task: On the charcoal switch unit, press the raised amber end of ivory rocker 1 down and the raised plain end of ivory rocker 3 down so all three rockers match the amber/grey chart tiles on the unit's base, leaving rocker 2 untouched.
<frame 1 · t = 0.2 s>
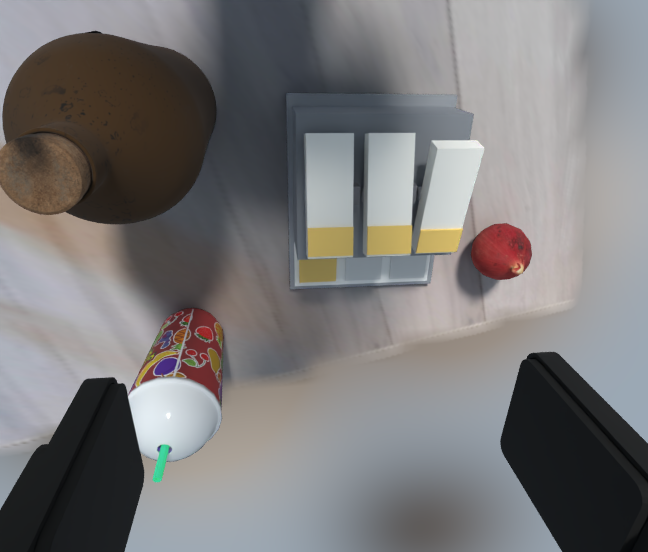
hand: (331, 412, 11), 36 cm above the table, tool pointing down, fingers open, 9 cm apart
rocker 1: (328, 196, 37), point 8 cm above the table, hinge at -12.0°
switch unit: (365, 197, 46), on the table
smoothie: (194, 327, 51), on the table
rocker 3: (442, 198, 38), point 8 cm above the table, hinge at 12.0°
olive oil: (163, 103, 40), on the table
onion: (484, 237, 50), on the table
rocker 2: (386, 195, 38), point 8 cm above the table, hinge at -12.0°
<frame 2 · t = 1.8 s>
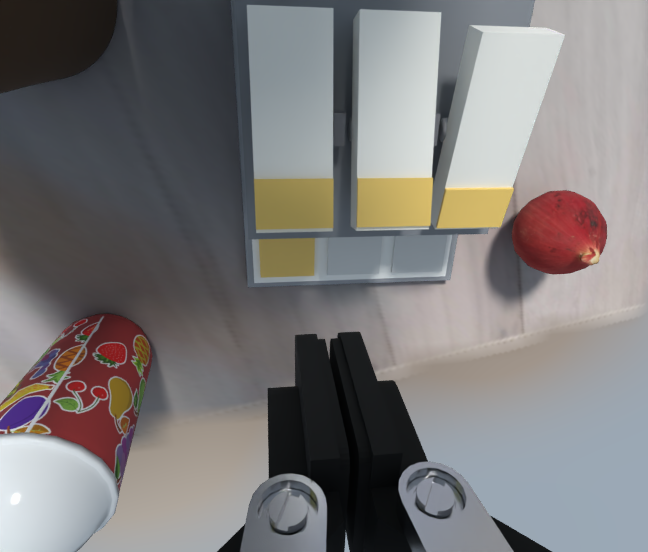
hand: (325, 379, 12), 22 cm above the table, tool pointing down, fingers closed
rocker 1: (291, 127, 22), point 8 cm above the table, hinge at -12.0°
switch unit: (357, 150, 31), on the table
smoothie: (112, 341, 35), on the table
rocker 3: (482, 135, 23), point 8 cm above the table, hinge at 12.0°
onion: (527, 214, 35), on the table
rocker 2: (390, 128, 23), point 8 cm above the table, hinge at -12.0°
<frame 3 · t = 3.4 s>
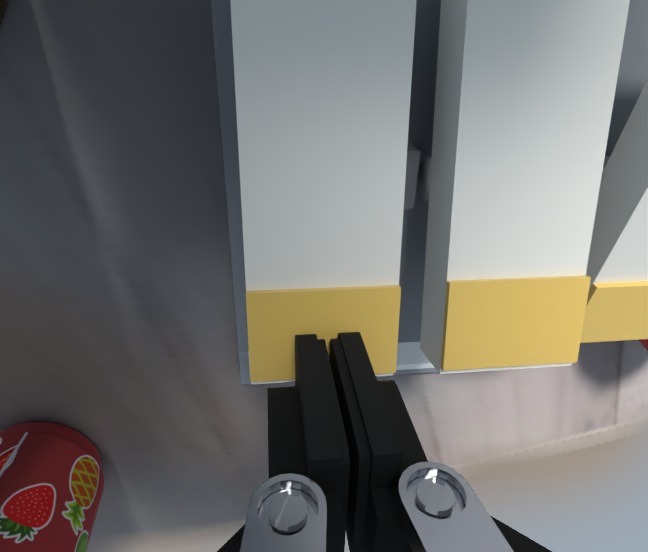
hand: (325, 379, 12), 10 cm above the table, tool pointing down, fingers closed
rocker 1: (318, 183, 11), point 8 cm above the table, hinge at -8.9°, touching gripper
switch unit: (406, 190, 20), on the table
smoothie: (48, 454, 25), on the table
rocker 2: (503, 179, 12), point 8 cm above the table, hinge at -12.0°
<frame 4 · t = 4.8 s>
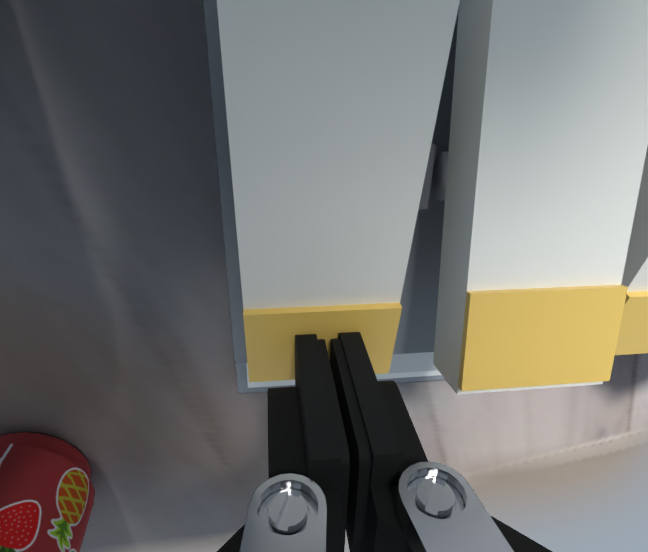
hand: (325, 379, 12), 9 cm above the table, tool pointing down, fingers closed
rocker 1: (321, 192, 10), point 8 cm above the table, hinge at 9.7°, touching gripper
switch unit: (414, 188, 19), on the table
smoothie: (36, 465, 24), on the table
rocker 2: (529, 177, 11), point 8 cm above the table, hinge at -12.0°
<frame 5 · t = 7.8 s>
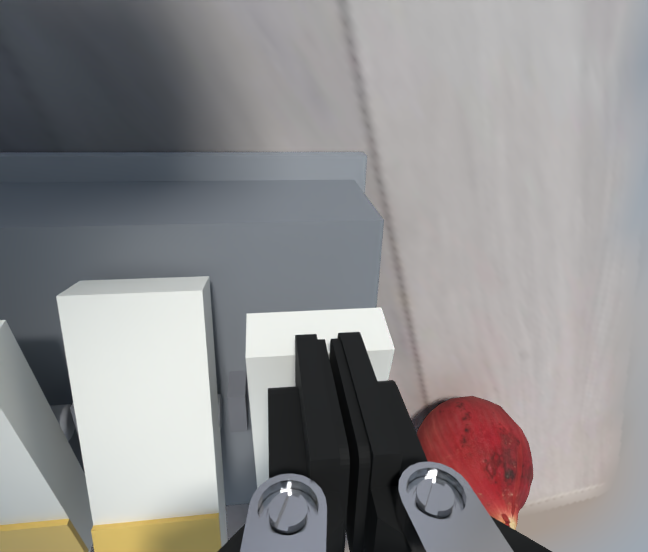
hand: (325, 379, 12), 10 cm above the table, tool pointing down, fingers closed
switch unit: (197, 351, 23), on the table
rocker 3: (311, 425, 15), point 8 cm above the table, hinge at 12.0°, touching gripper
onion: (444, 403, 27), on the table
rocker 2: (158, 429, 14), point 8 cm above the table, hinge at -12.0°
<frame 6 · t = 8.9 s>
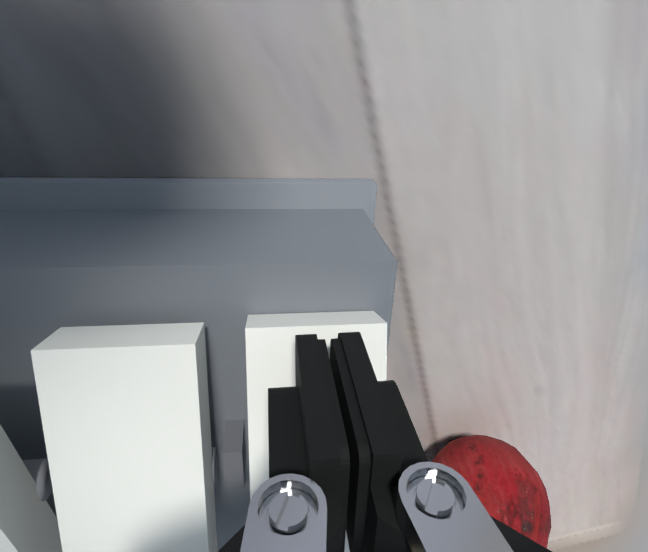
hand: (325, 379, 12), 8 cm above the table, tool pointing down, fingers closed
switch unit: (193, 385, 21), on the table
rocker 3: (314, 474, 14), point 8 cm above the table, hinge at -17.8°, touching gripper
onion: (453, 439, 25), on the table
rocker 2: (145, 489, 13), point 8 cm above the table, hinge at -12.0°
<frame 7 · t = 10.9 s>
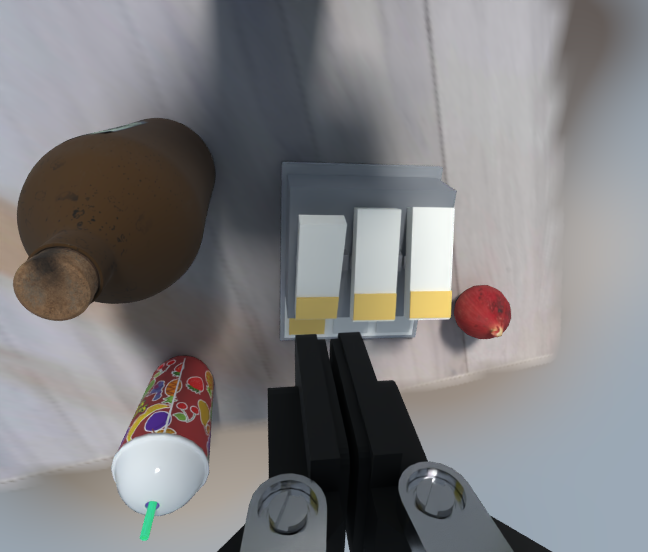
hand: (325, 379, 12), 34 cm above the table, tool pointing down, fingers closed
rocker 1: (318, 267, 39), point 8 cm above the table, hinge at 10.2°
switch unit: (354, 257, 48), on the table
smoothie: (185, 373, 52), on the table
rocker 3: (426, 263, 41), point 8 cm above the table, hinge at -18.5°, touching switch unit
olive oil: (165, 168, 42), on the table
onion: (467, 295, 52), on the table
rocker 2: (373, 264, 40), point 8 cm above the table, hinge at -12.0°
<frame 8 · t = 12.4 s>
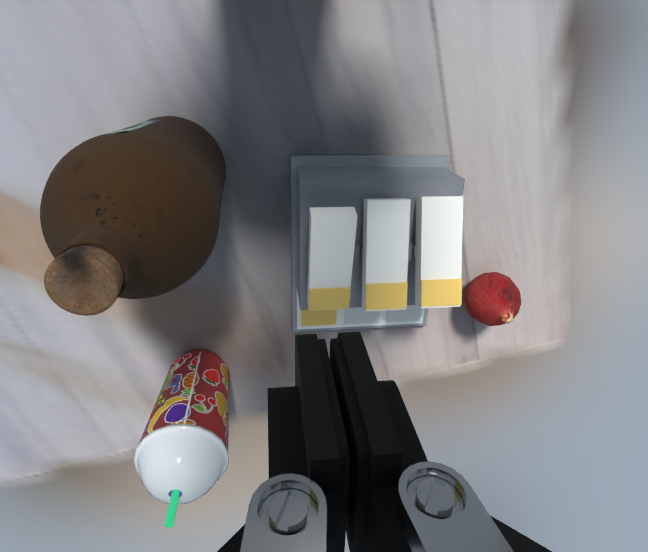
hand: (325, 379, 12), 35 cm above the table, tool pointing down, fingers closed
rocker 1: (329, 259, 40), point 8 cm above the table, hinge at 10.2°
switch unit: (364, 247, 49), on the table
smoothie: (200, 367, 53), on the table
rocker 3: (436, 251, 41), point 8 cm above the table, hinge at -18.5°, touching switch unit
olive oil: (176, 165, 43), on the table
onion: (476, 283, 53), on the table
rocker 2: (383, 254, 40), point 8 cm above the table, hinge at -12.0°
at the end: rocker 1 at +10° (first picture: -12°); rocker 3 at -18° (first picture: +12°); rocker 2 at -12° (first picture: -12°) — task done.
